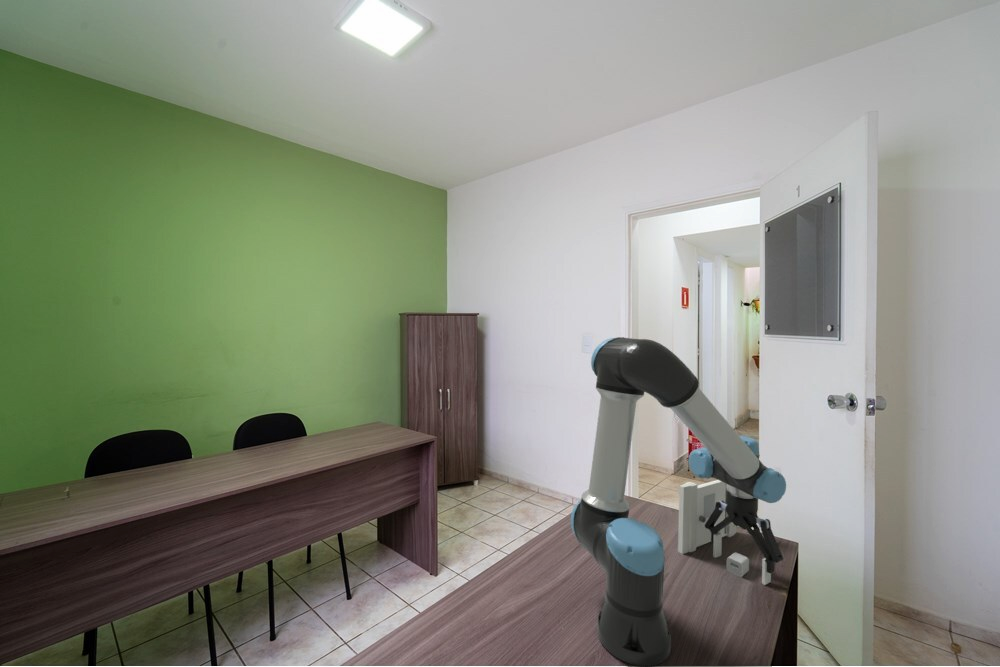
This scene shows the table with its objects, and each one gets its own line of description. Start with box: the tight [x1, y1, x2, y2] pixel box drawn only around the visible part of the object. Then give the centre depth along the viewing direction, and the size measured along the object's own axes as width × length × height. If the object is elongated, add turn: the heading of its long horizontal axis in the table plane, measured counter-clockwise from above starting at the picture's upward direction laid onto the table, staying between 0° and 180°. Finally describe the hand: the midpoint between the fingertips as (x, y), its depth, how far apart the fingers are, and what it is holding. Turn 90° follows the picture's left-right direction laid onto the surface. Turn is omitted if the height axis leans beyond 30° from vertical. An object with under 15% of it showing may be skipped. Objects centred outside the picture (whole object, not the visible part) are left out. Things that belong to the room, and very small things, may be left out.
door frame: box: [677, 481, 737, 555], centre depth 125 cm, size 26×2×20 cm, turn 118°
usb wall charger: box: [725, 551, 750, 578], centre depth 112 cm, size 4×7×4 cm, turn 127°
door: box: [696, 479, 726, 548], centre depth 125 cm, size 14×3×18 cm, turn 118°
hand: (740, 568), depth 112 cm, fingers open, 13 cm apart
